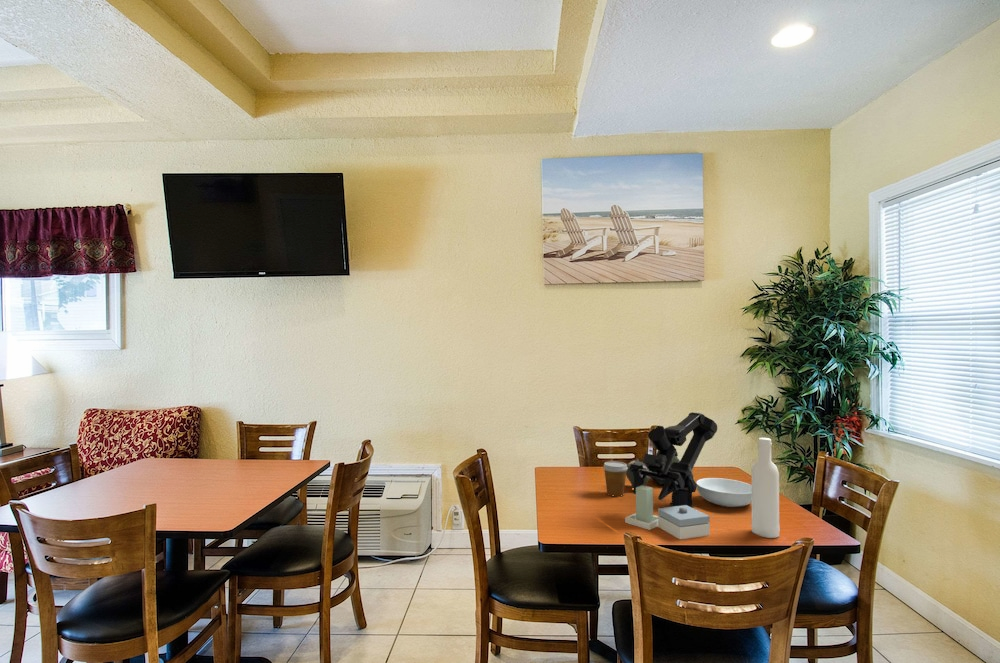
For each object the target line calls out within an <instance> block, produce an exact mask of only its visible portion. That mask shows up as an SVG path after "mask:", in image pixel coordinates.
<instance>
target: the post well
mask: <svg viewBox="0 0 1000 663" xmlns="http://www.w3.org/2000/svg"><path fill="white" fill-rule="evenodd" d="M624 521H625V523H626V524H629V525H632V526H636V527H638V528H641V529H646V530H649V531H650V530H652V529H654V528H657V527H658V515H654V514H653V521H652V522H650V523H646V522H643V521H639V520H636V512H635V513H632V514H630V515H627V516H626V517H625V518H624Z"/></svg>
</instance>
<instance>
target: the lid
mask: <svg viewBox="0 0 1000 663" xmlns="http://www.w3.org/2000/svg"><path fill="white" fill-rule="evenodd" d="M658 515H660V516H662V517H663V518H665V519H667V520H669V521H671V522H673V523H674V524H676V525H678V526H688V525H695V524H702V523H710V518H711V517H710V515H708V514H706V513H704V512H701V511H700V510H697V509H696V508H694V507H693V508H691V507H689V506H687V505H683V506H667V507H660V508H657V516H658Z"/></svg>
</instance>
